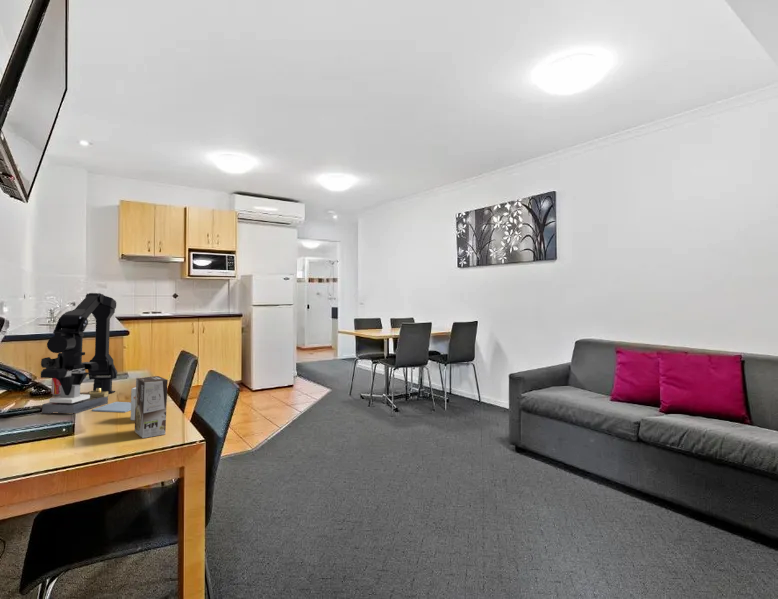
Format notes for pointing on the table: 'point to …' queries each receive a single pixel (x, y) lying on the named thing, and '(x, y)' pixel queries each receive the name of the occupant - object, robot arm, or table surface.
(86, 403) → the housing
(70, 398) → the lid
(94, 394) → the pegged block
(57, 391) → the soda can
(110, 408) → the pad
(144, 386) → the coffee box
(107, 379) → the robot arm
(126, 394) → the table surface
